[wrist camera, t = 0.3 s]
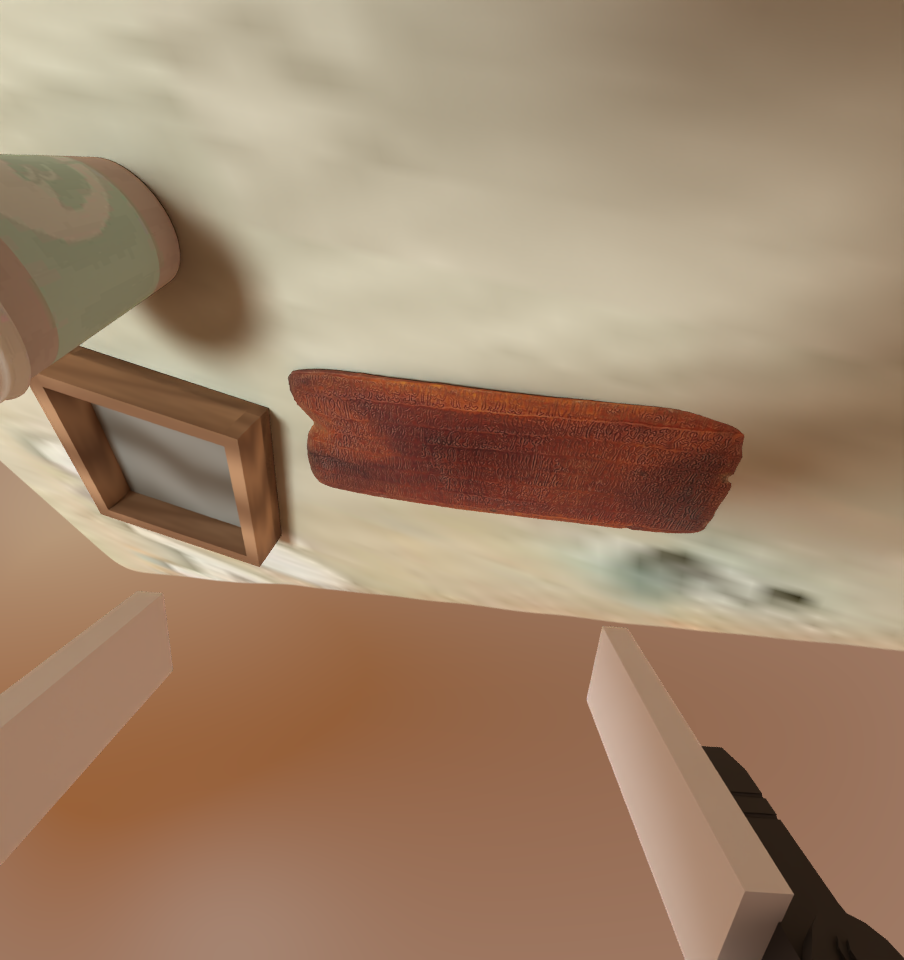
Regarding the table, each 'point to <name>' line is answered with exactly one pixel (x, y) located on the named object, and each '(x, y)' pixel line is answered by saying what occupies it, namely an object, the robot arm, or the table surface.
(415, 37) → the table surface
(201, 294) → the table surface
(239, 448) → the wood rimmed frame
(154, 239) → the coffee cup
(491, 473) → the wooden tablet
